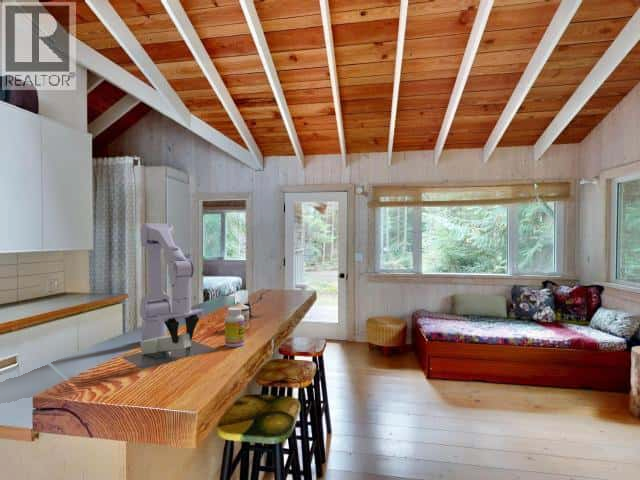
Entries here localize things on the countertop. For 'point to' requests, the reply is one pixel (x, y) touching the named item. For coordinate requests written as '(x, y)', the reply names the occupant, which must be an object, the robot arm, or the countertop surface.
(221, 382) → the countertop surface
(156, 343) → the link
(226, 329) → the supplement bottle
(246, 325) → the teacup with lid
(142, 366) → the base plate
